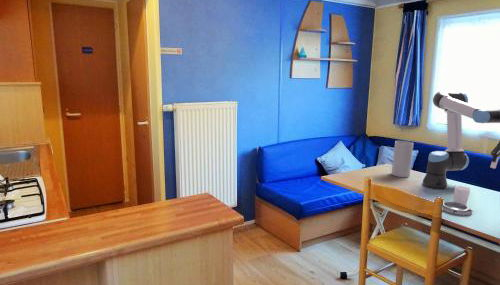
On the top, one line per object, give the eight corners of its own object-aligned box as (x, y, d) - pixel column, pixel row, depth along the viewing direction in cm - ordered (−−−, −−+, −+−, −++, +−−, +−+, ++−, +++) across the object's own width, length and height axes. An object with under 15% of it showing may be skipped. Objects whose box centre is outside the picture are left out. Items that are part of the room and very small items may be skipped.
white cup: (467, 207, 206) (470, 191, 204) (451, 204, 210) (454, 188, 208) (467, 203, 213) (470, 187, 211) (452, 200, 217) (455, 184, 215)
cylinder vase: (413, 177, 263) (417, 144, 258) (398, 178, 260) (402, 144, 255) (402, 172, 275) (406, 140, 270) (388, 173, 272) (391, 140, 267)
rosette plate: (433, 208, 203) (433, 204, 202) (447, 203, 212) (447, 198, 212) (463, 218, 190) (464, 213, 190) (476, 212, 200) (477, 207, 199)
